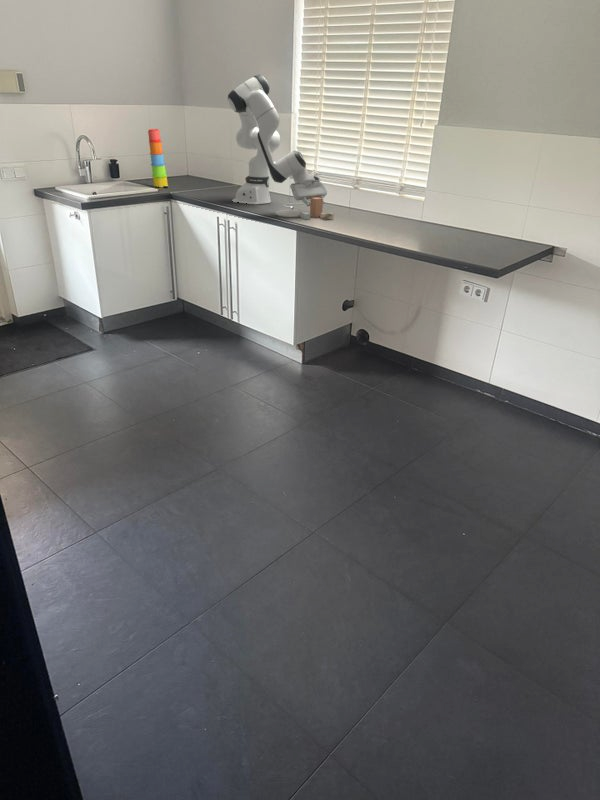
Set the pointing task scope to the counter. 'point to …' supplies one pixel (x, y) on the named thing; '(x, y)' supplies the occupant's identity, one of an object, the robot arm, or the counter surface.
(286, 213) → the cream plate
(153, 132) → the stacking cups
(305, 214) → the grey brick
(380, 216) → the counter surface
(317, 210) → the orange cylinder
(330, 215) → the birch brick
